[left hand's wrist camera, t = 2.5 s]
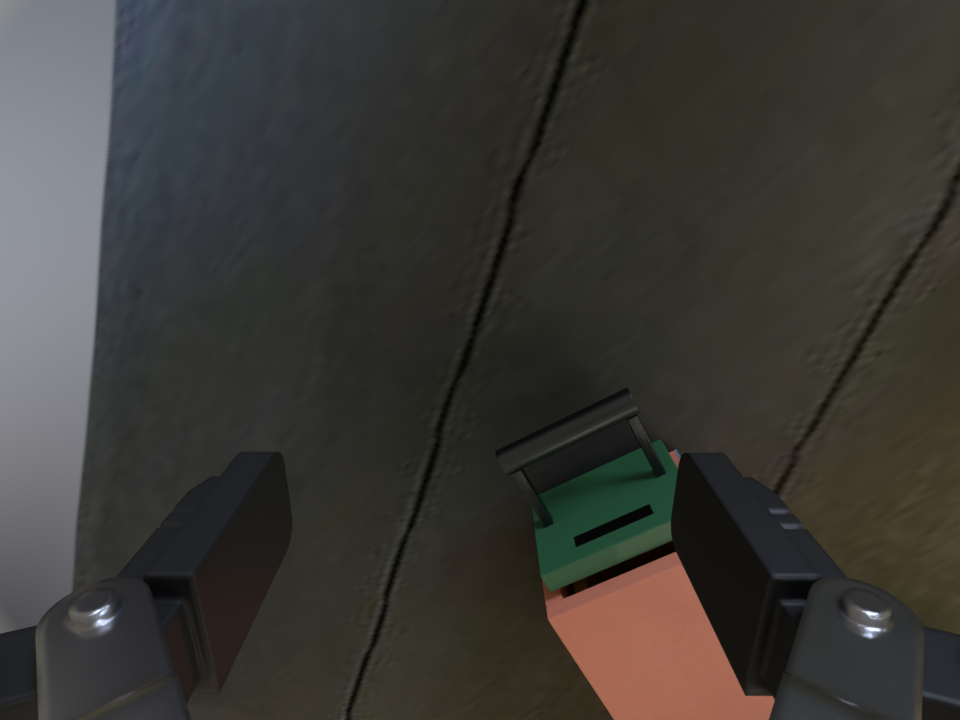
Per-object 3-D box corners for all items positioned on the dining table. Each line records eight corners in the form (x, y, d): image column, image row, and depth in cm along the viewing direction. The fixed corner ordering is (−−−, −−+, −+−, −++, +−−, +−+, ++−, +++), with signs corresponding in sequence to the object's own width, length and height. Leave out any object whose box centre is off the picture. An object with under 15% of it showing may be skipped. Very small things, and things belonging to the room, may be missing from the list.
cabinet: (532, 513, 37) (547, 619, 29) (675, 448, 36) (734, 542, 27) (618, 651, 42) (651, 778, 33) (749, 599, 40) (820, 719, 32)
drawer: (487, 429, 34) (488, 496, 28) (622, 363, 33) (657, 417, 26) (611, 630, 40) (636, 725, 33) (731, 581, 38) (783, 672, 32)
